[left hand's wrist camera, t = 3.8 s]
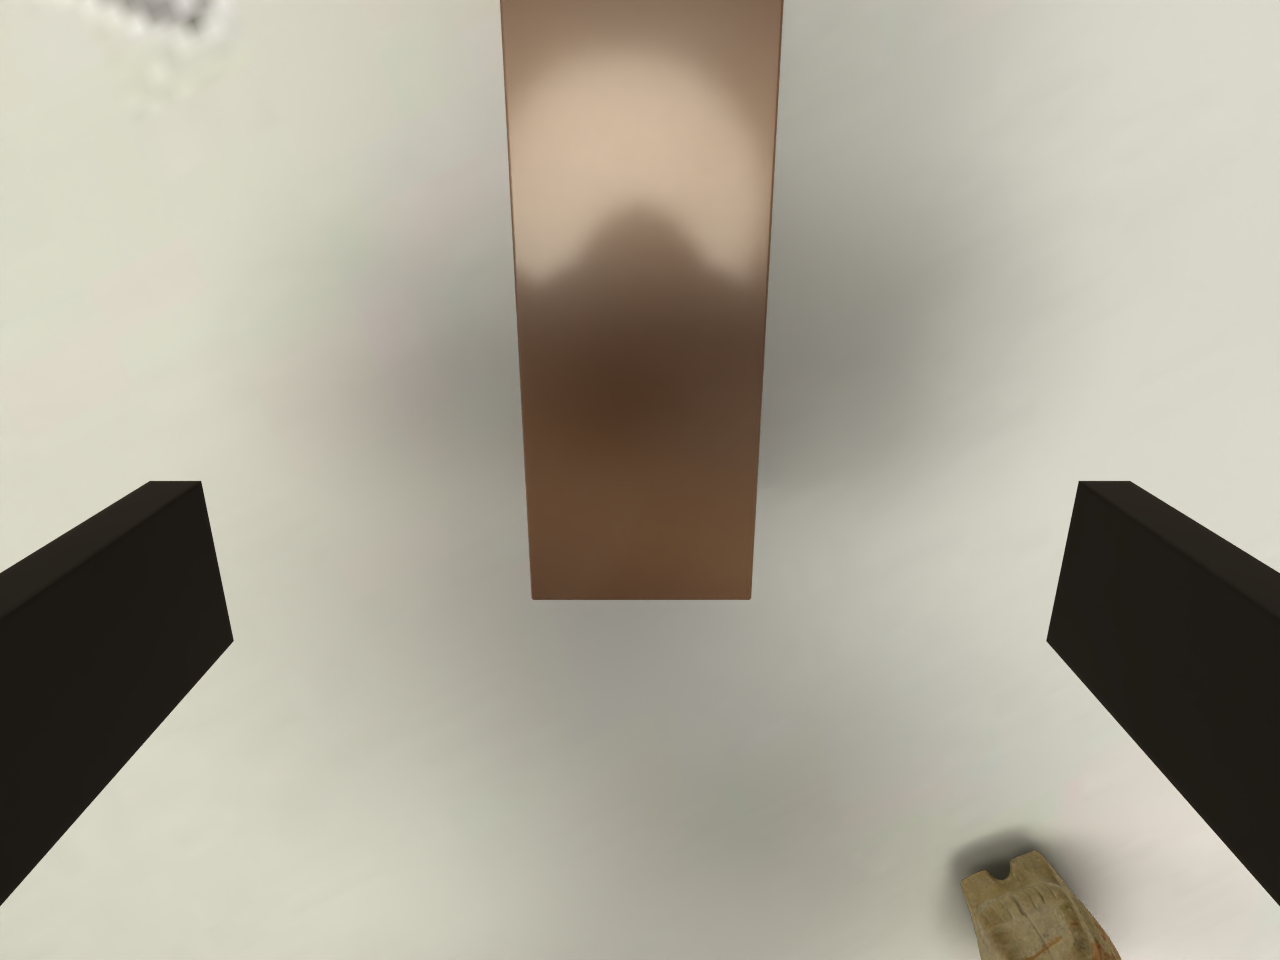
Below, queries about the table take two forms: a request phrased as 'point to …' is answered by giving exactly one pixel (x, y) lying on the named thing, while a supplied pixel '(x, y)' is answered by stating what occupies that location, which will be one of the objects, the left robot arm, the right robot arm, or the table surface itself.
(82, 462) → the table surface
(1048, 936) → the sculpture
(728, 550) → the post
